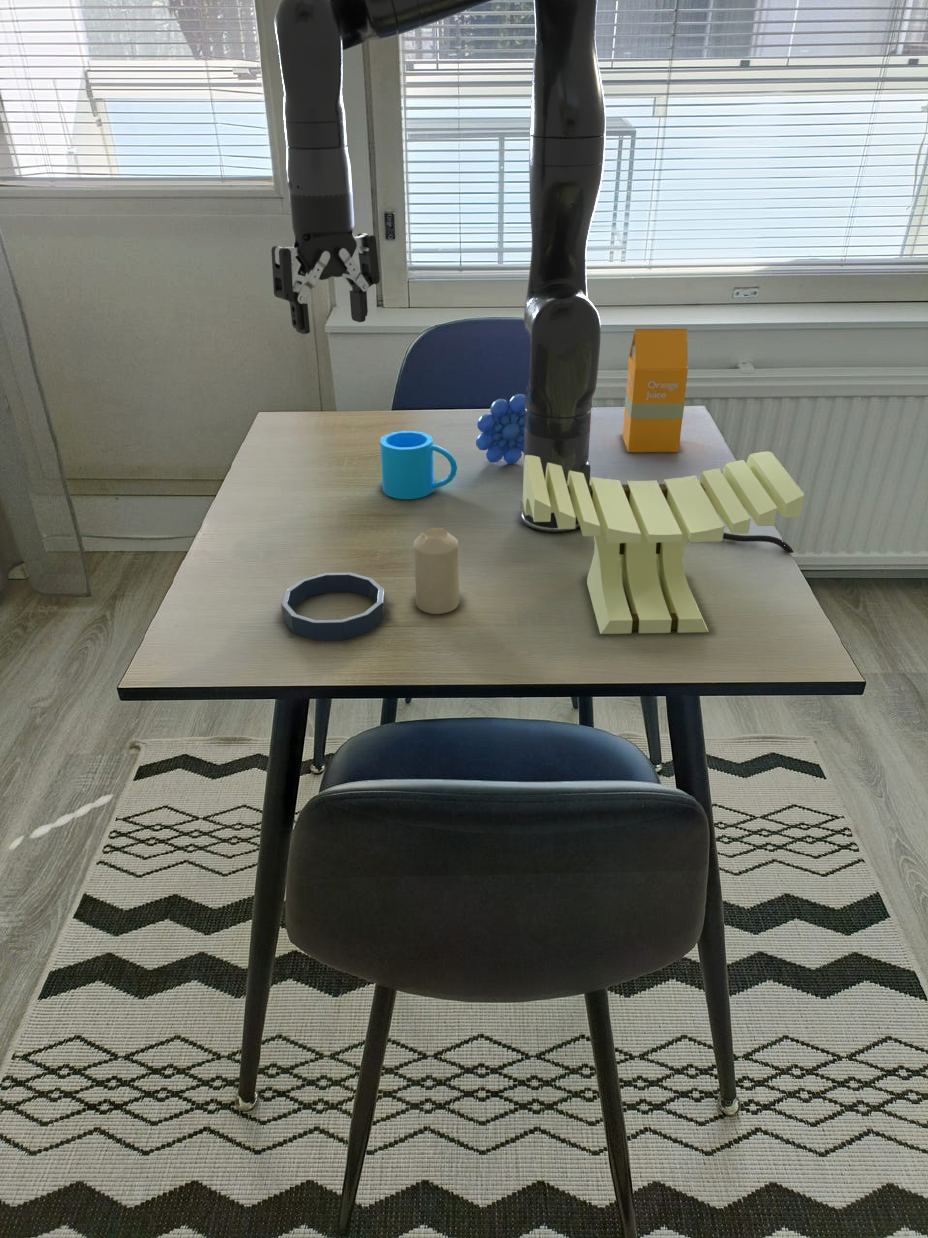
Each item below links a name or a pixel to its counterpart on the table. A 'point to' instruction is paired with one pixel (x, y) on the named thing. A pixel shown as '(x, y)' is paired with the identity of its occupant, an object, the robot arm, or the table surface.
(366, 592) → the ring
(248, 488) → the table surface
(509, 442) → the blue ball flower
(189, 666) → the table surface
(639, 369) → the orange juice
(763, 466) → the slatted curved stool
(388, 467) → the mug
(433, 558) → the candle
